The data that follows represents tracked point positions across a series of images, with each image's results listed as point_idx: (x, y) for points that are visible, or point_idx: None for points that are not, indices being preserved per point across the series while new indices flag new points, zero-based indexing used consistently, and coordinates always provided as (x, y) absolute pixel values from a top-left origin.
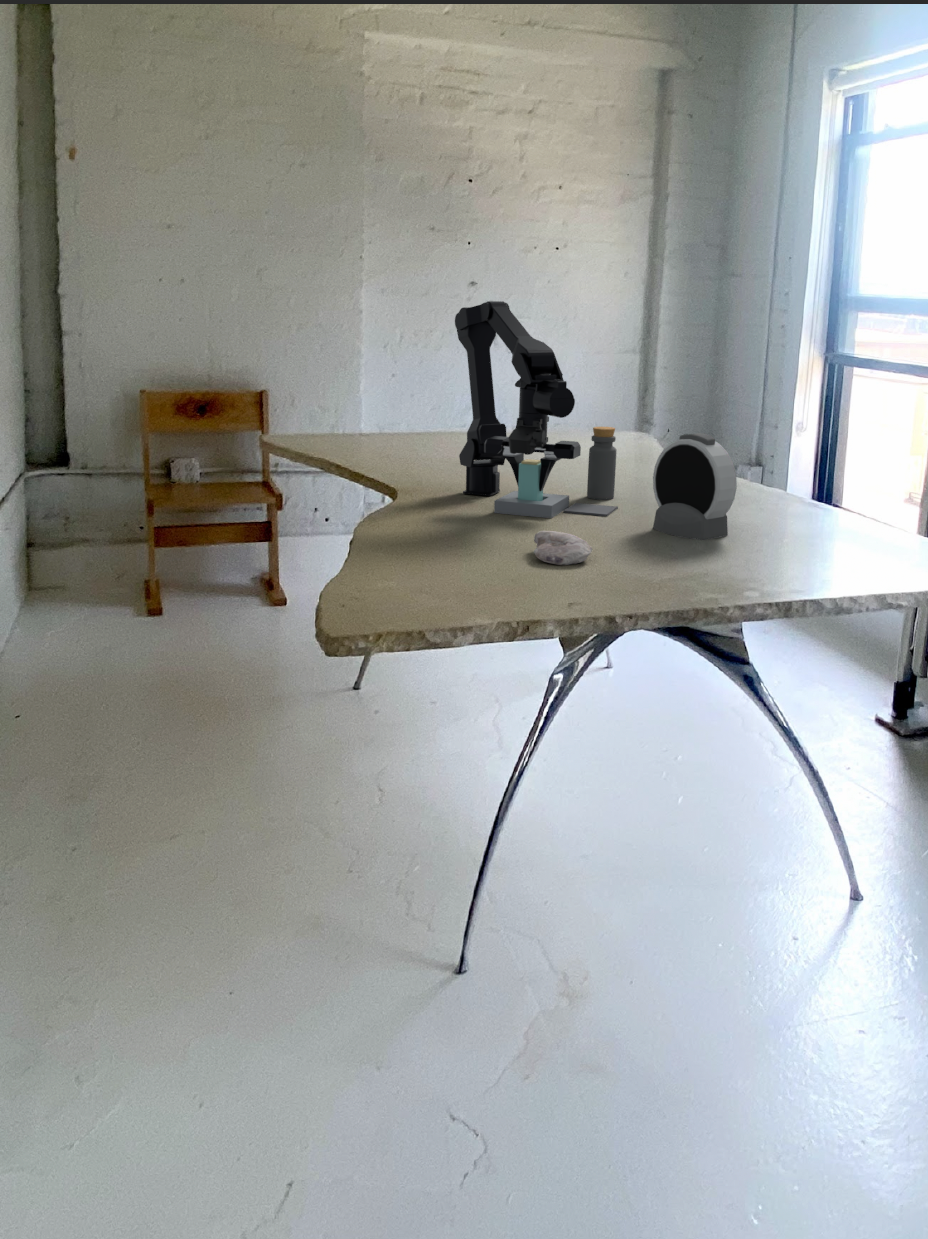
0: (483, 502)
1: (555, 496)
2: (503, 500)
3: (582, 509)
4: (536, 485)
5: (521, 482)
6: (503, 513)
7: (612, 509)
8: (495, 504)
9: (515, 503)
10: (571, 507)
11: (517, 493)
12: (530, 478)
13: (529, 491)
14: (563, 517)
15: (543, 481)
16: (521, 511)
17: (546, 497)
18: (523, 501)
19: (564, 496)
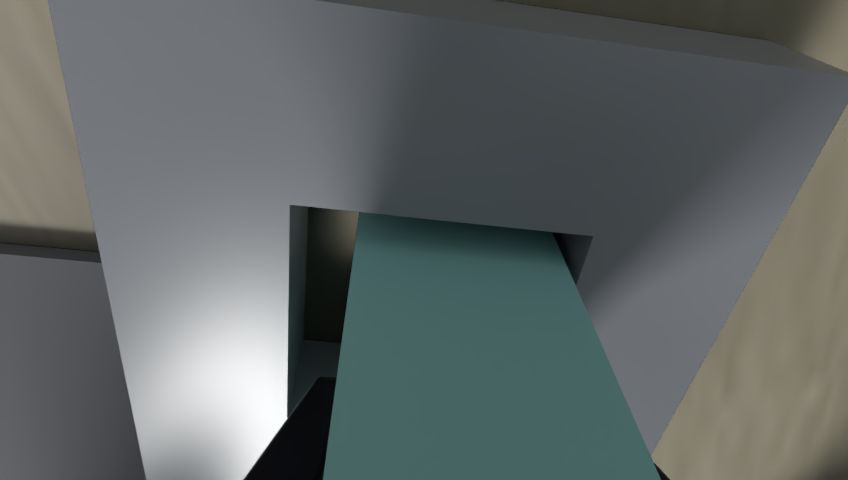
0: (804, 398)
1: (239, 442)
2: (741, 115)
3: (10, 342)
4: (350, 371)
5: (585, 408)
6: (675, 27)
7: None
8: (816, 62)
9: (582, 38)
10: None
11: None
12: (454, 463)
13: (448, 316)
14: (32, 47)
15: (258, 466)
16: (484, 3)
17: None
18: (489, 131)
19: (166, 460)
